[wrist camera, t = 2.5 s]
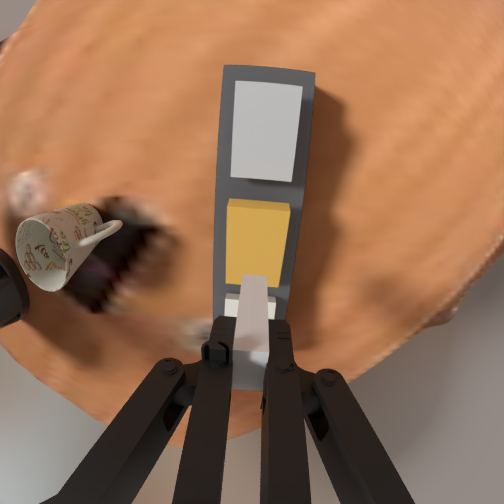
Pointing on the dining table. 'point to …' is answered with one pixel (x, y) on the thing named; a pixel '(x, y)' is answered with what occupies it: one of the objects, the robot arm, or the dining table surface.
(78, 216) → the mug
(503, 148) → the dining table surface
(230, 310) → the block
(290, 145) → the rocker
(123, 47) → the dining table surface
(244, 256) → the block
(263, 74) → the power strip
